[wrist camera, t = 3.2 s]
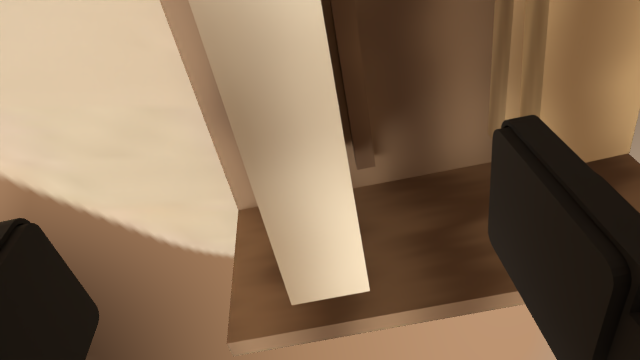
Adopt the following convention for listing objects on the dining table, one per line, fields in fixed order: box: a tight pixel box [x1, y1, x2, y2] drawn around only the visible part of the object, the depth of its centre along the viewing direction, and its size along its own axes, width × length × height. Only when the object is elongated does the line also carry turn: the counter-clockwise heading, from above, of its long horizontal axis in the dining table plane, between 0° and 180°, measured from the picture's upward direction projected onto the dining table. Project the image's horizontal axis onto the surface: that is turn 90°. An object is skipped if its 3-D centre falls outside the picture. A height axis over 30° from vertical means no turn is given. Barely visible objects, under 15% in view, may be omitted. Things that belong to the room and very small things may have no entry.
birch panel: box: [188, 0, 370, 305], centre depth 17 cm, size 3×16×10 cm, turn 10°
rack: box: [160, 0, 640, 356], centre depth 17 cm, size 22×24×10 cm
